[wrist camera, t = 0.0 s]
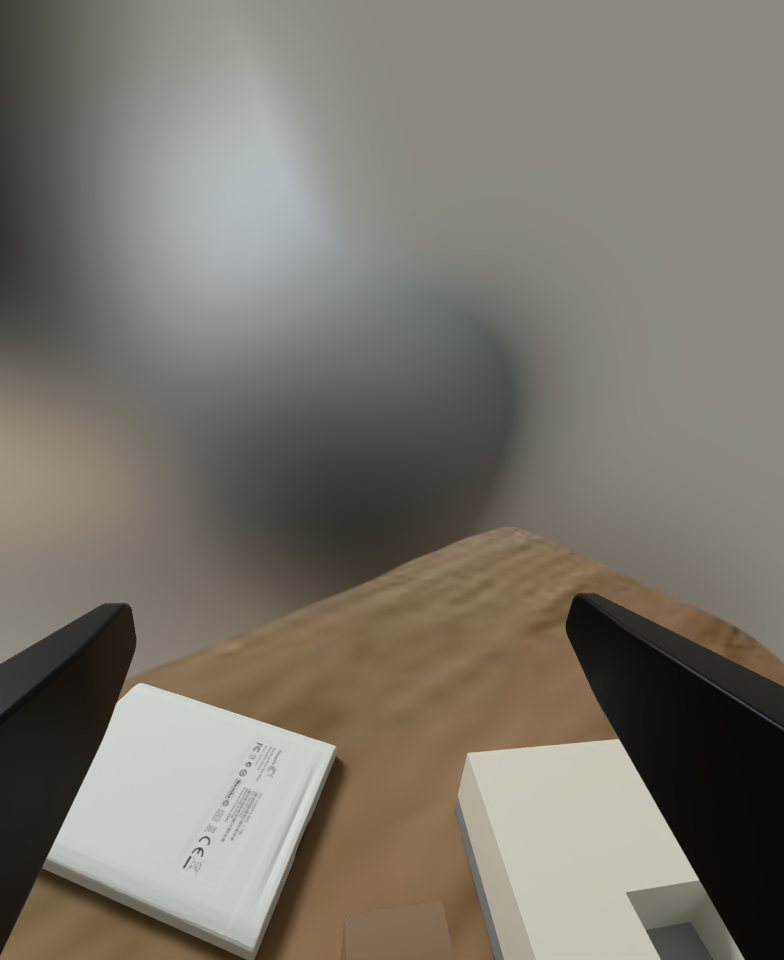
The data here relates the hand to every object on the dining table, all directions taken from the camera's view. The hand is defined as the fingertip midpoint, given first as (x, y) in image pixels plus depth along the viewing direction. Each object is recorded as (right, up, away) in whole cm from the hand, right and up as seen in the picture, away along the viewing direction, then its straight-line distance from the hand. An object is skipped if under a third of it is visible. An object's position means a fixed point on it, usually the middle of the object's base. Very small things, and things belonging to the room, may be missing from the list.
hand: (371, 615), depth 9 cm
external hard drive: (-10, -13, +12) cm, 20 cm away
